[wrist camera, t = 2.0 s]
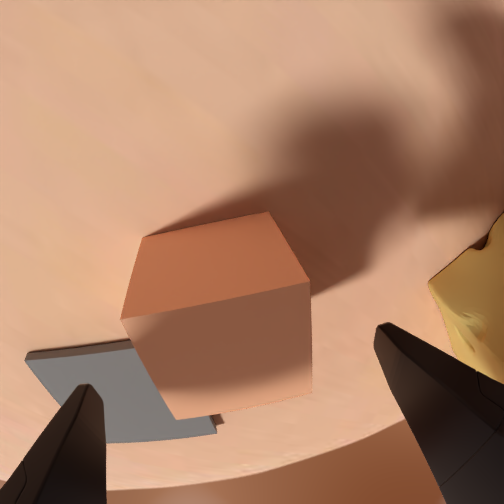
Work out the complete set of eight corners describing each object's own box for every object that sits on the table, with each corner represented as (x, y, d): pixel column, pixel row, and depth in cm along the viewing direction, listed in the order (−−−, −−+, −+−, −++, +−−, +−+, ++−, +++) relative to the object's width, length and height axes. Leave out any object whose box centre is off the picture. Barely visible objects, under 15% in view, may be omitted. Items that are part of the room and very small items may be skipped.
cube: (267, 210, 12) (309, 281, 8) (279, 309, 15) (312, 392, 10) (142, 236, 12) (119, 319, 8) (175, 330, 14) (176, 420, 10)
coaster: (175, 332, 14) (175, 341, 14) (216, 426, 19) (217, 433, 18) (27, 353, 14) (24, 360, 13) (97, 436, 18) (96, 443, 17)
